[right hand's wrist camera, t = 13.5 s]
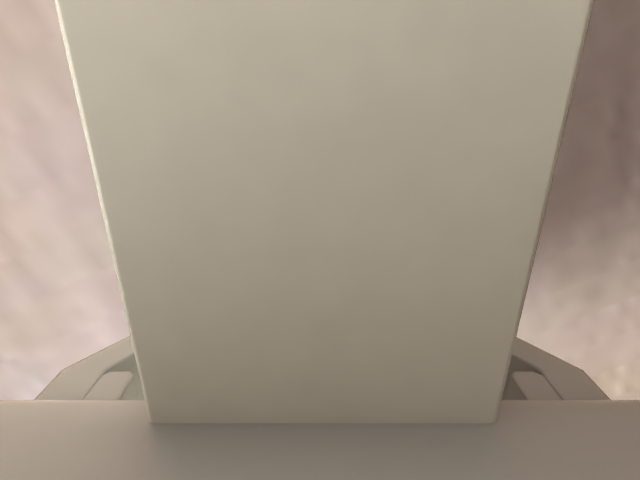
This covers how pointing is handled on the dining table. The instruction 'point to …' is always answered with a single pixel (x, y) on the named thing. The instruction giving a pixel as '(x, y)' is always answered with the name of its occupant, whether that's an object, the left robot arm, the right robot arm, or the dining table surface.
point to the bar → (323, 196)
